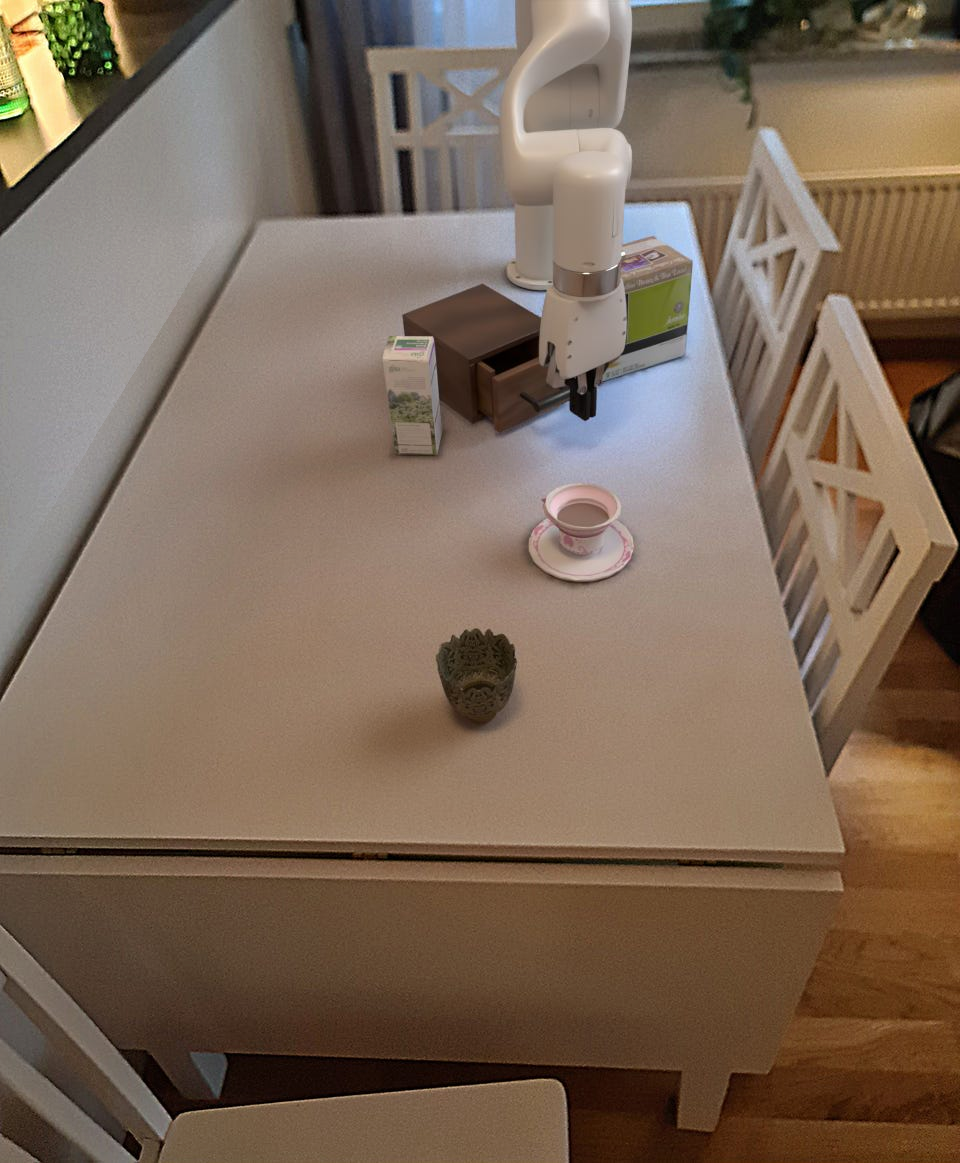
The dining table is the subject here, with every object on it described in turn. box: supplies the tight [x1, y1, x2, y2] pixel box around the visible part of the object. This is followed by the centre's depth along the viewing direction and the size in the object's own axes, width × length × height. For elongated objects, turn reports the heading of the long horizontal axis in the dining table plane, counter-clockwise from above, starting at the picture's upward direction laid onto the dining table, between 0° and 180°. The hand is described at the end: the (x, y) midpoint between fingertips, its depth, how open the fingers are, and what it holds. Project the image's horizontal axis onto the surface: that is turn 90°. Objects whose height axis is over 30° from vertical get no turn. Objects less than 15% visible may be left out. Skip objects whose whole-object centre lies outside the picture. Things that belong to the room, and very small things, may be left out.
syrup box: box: [381, 335, 443, 456], centre depth 120 cm, size 6×6×14 cm
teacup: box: [528, 482, 635, 583], centre depth 106 cm, size 12×12×6 cm
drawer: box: [474, 336, 570, 434], centre depth 127 cm, size 19×13×8 cm, turn 36°
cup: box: [435, 627, 518, 724], centre depth 89 cm, size 8×7×8 cm
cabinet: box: [401, 283, 542, 424], centre depth 132 cm, size 16×14×10 cm
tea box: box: [602, 235, 694, 383], centre depth 133 cm, size 15×10×15 cm
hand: (582, 413), depth 117 cm, fingers closed
